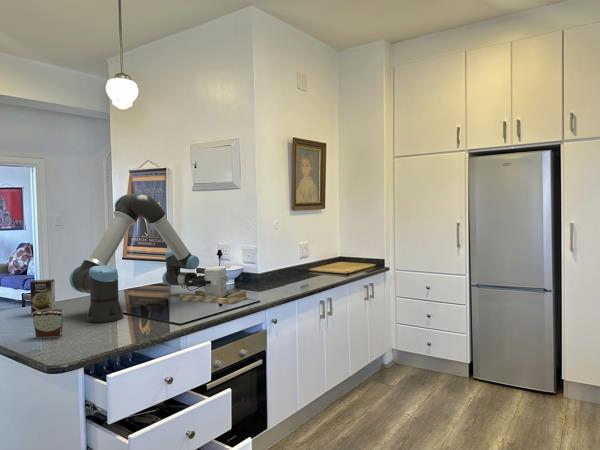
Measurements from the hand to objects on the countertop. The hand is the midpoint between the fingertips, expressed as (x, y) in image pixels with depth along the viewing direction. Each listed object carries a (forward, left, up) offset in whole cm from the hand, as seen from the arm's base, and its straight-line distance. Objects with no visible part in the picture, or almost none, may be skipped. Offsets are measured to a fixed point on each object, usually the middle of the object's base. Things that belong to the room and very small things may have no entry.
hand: (222, 280), depth 234 cm
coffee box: (-15, +83, -10) cm, 85 cm away
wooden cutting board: (+4, +4, -10) cm, 12 cm away
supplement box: (+2, +4, -9) cm, 10 cm away
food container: (-53, +63, -10) cm, 83 cm away
